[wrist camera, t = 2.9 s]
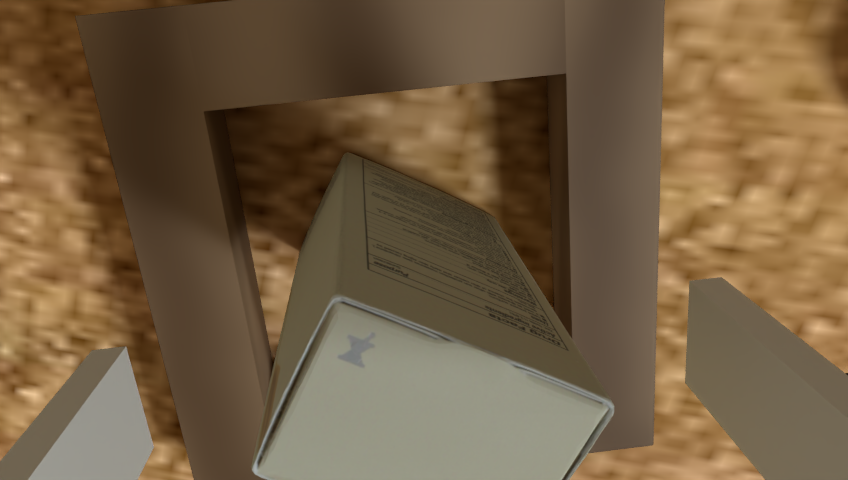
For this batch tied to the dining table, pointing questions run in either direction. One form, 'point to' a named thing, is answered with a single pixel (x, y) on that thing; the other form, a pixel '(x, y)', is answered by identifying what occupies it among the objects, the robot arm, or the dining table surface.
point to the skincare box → (420, 348)
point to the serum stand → (358, 75)
